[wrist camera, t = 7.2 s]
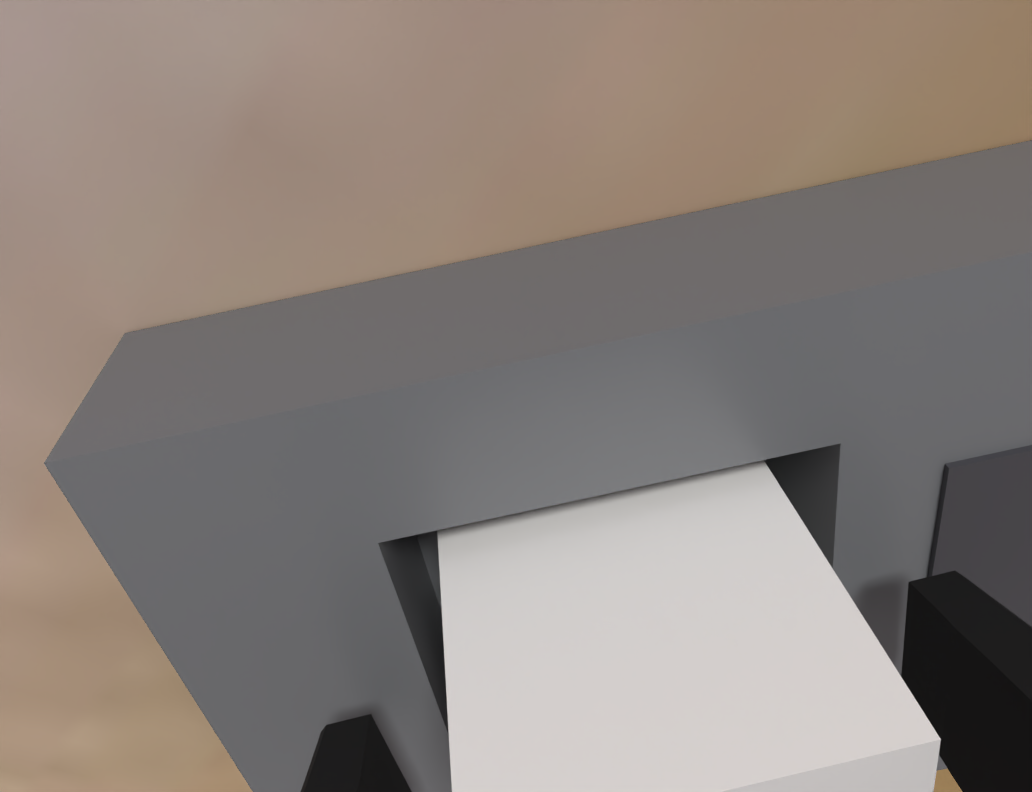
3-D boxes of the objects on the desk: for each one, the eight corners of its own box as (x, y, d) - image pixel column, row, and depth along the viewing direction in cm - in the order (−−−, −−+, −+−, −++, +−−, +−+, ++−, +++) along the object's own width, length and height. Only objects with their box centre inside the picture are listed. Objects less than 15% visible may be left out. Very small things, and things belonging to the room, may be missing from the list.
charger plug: (716, 384, 12) (940, 740, 7) (732, 584, 14) (909, 955, 9) (432, 454, 12) (456, 855, 7) (496, 641, 15) (546, 1041, 9)
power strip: (1655, 7, 11) (2028, 43, 9) (1366, 526, 17) (1543, 643, 14) (124, 333, 11) (40, 469, 9) (336, 749, 17) (324, 911, 14)
